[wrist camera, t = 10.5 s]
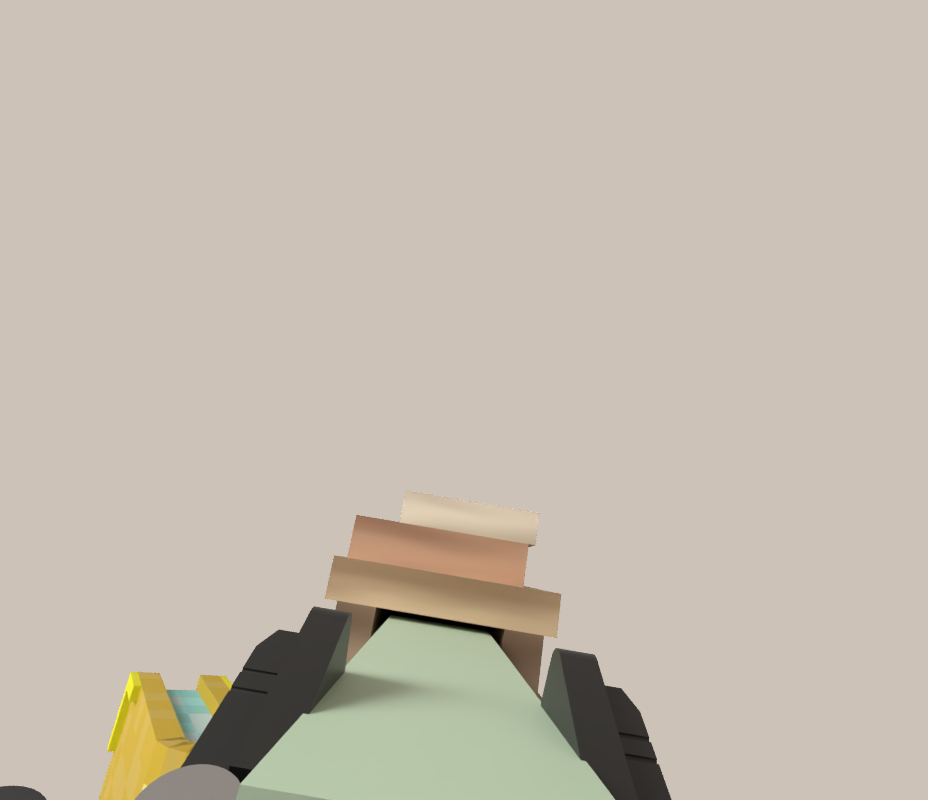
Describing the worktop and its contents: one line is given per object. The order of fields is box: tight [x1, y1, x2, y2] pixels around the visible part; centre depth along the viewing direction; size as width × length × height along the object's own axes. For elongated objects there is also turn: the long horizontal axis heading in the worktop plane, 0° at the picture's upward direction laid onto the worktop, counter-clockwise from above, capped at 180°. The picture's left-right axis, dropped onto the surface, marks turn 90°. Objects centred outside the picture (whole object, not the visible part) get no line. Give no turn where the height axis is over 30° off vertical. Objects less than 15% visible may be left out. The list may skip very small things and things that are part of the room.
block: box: [236, 615, 615, 800], centre depth 14 cm, size 18×4×2 cm, turn 3°
